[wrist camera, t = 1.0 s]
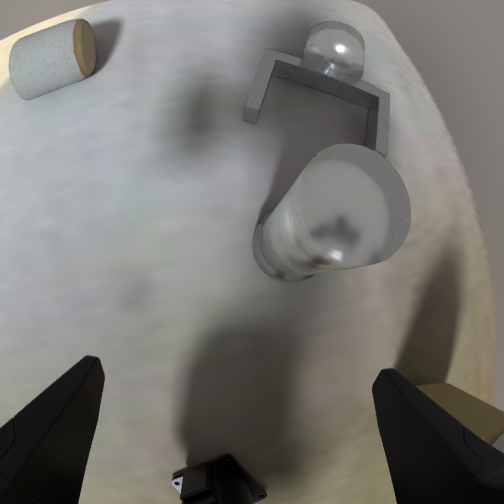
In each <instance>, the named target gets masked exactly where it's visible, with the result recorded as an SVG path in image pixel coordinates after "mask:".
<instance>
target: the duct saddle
mask: <svg viewBox="0 0 504 504" xmlns="http://www.w3.org/2000/svg"><path fill="white" fill-rule="evenodd" d="M364 56H365V42H364V39H363V37H362V36H361V34H360V33H359V32H358V31H357V30H356V29H354V28H353V27H351V26H349V25H347V24H344V23H341V22H335V21H328V22H322V23H319V24H317V25H316V26H314V27H313V28H312V29H311V30H310V32H309V35H308V38H307V42H306V46H305V49H304V53H303V57H302V59H301V58H298V57H294V56H291V55H288V54H284V53H281V52H277V51H274V50H270V49H266V51H265V54H264V56H263V59H262V61H261V64H260V67H259V69H258V72H257V75H256V77H255V80H254V83H253V85H252V88H251V91H250V93H249V96H248V99H247V102H246V105H245V109H244V115H243V120H242V121H245V122H249V123H252V124H256V121H257V118H258V114H259V111H260V108H261V105H262V102H263V99H264V96H265V93H266V90H267V87H268V84H269V81H270V78H271V75H273V76H277V77H280V78H284V79H287V80H290V81H293V82H297V83H300V84H303V85H306V86H309V87H312V88H315V89H318V90H320V91H323V92H326V93H329V94H331V95H334V96H337V97H339V98H342V99H345V100H347V101H350V102H352V103H355V104H357V105H359V106H362V107H364V108H366V109H369V113H368V124H367V134H366V144H365V147H367V148H369V149H371V150H373V151H375V152H377V153H378V154H380V155H381V156H382V157H385V156H387V147H388V131H389V107H390V94H389V93H387V92H385V91H383V90H381V89H378V88H376V87H374V86H372V85H370V84H367V83H365V82H363V81H360V80H359V79H360V78H361V77H362V75H363V71H364Z"/></svg>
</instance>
